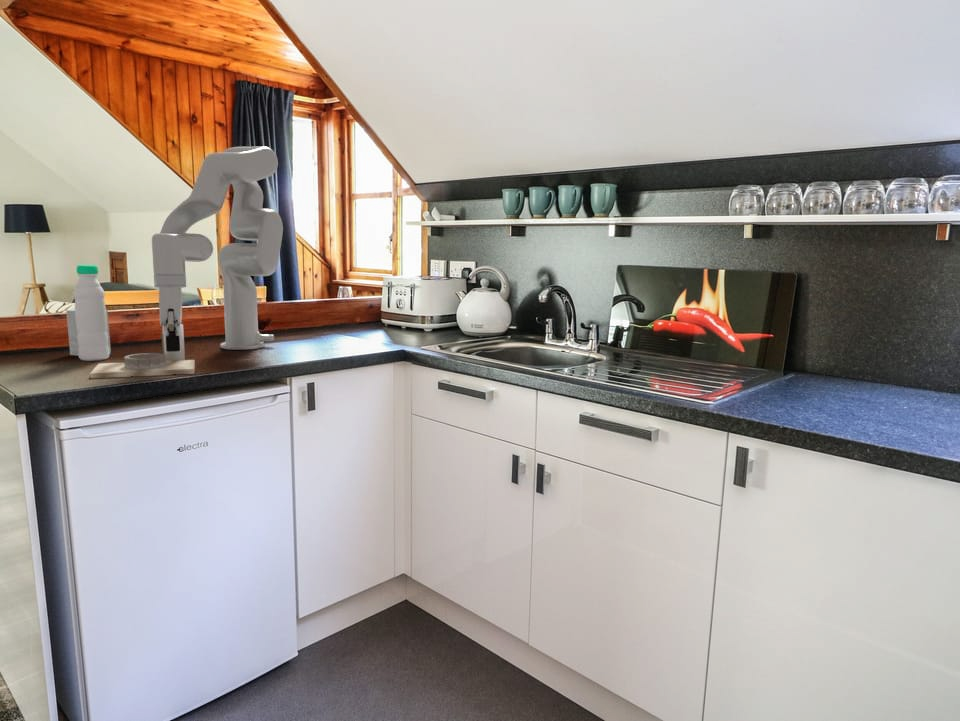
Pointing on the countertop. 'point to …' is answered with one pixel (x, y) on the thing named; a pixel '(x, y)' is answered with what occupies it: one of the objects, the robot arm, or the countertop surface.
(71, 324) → the supplement box
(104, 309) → the milk bottle
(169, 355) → the white round post
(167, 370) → the board
